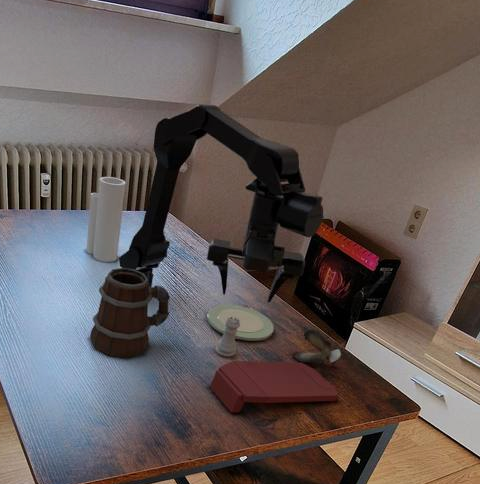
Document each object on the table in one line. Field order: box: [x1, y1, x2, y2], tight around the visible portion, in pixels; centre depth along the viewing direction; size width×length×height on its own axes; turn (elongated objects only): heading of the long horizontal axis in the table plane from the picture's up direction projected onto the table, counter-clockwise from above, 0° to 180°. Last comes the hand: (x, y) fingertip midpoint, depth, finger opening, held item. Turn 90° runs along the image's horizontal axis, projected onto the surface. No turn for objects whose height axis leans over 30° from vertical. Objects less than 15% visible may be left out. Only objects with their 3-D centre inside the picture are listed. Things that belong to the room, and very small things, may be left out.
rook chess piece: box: [215, 317, 240, 358], centre depth 113 cm, size 4×4×8 cm
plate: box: [206, 304, 275, 342], centre depth 127 cm, size 16×16×1 cm
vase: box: [85, 176, 126, 263], centre depth 142 cm, size 11×7×20 cm, turn 30°
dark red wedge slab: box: [209, 360, 339, 413], centre depth 106 cm, size 12×5×25 cm
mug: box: [89, 267, 171, 359], centre depth 108 cm, size 16×12×15 cm
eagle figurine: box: [294, 328, 345, 368], centre depth 117 cm, size 8×7×9 cm
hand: (246, 297), depth 110 cm, fingers open, 9 cm apart
